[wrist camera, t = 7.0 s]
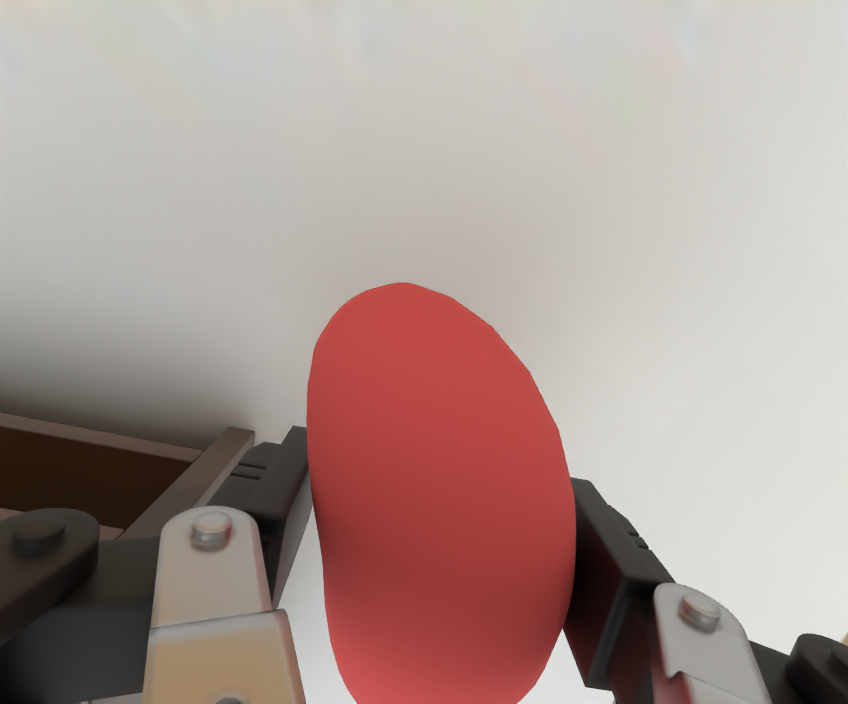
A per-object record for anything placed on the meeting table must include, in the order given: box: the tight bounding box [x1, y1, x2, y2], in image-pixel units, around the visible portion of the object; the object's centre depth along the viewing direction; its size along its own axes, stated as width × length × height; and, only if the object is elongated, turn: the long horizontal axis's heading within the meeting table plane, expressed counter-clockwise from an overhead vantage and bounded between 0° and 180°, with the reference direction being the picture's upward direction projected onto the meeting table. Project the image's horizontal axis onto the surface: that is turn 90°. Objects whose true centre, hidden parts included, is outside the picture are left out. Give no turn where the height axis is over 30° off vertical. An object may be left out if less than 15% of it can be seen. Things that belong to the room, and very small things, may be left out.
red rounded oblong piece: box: [307, 283, 576, 704], centre depth 10 cm, size 5×9×6 cm, turn 172°
